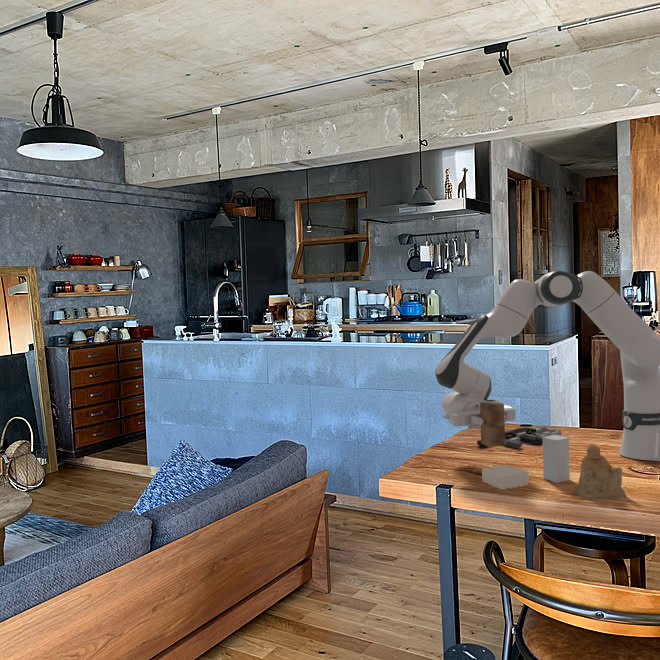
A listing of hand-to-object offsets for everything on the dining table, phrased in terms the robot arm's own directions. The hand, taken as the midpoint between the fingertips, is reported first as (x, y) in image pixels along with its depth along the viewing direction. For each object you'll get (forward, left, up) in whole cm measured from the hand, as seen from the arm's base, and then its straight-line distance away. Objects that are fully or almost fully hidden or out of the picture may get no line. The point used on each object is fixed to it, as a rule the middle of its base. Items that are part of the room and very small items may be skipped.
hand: (493, 420), depth 192 cm
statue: (-18, +23, -17) cm, 34 cm away
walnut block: (0, -1, -7) cm, 7 cm away
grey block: (-15, +8, -17) cm, 24 cm away
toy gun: (-29, -35, -17) cm, 49 cm away
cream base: (0, +6, -17) cm, 18 cm away
